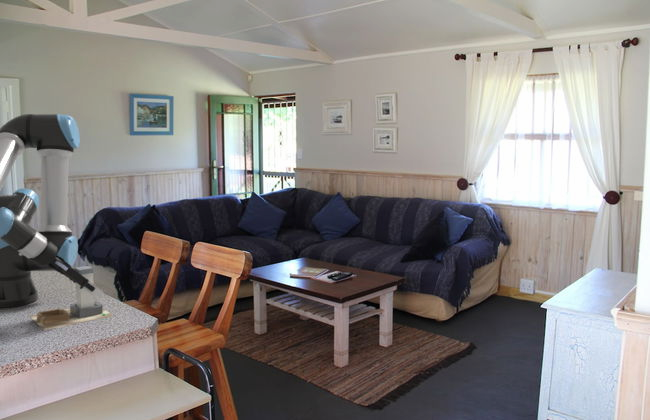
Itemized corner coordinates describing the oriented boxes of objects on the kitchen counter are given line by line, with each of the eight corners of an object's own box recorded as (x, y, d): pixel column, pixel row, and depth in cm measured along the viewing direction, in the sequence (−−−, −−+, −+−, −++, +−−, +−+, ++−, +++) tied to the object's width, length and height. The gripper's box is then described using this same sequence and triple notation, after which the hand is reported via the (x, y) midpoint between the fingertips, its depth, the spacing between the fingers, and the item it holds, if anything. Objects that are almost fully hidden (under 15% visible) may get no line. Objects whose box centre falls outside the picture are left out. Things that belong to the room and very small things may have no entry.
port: (69, 312, 178) (68, 304, 178) (94, 307, 184) (94, 299, 183) (80, 320, 171) (79, 312, 171) (106, 314, 176) (106, 307, 176)
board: (29, 320, 174) (29, 316, 174) (95, 307, 188) (94, 303, 188) (45, 334, 163) (45, 330, 163) (114, 319, 176) (113, 315, 176)
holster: (36, 319, 172) (35, 312, 171) (61, 314, 177) (61, 308, 176) (43, 325, 166) (43, 319, 166) (69, 320, 171) (69, 313, 171)
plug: (76, 308, 178) (74, 267, 176) (90, 305, 180) (88, 265, 179) (81, 311, 174) (79, 270, 173) (95, 308, 177) (93, 268, 175)
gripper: (21, 254, 171) (80, 297, 184) (37, 264, 159) (99, 309, 172) (38, 235, 174) (95, 279, 187) (56, 243, 161) (116, 289, 175)
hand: (97, 293), depth 179 cm, fingers closed on plug, 4 cm apart
